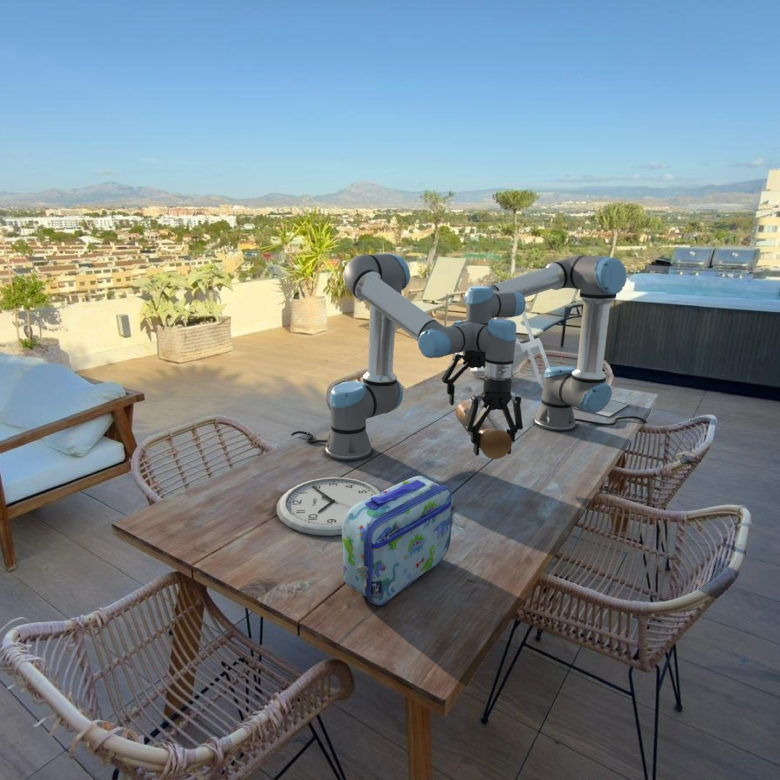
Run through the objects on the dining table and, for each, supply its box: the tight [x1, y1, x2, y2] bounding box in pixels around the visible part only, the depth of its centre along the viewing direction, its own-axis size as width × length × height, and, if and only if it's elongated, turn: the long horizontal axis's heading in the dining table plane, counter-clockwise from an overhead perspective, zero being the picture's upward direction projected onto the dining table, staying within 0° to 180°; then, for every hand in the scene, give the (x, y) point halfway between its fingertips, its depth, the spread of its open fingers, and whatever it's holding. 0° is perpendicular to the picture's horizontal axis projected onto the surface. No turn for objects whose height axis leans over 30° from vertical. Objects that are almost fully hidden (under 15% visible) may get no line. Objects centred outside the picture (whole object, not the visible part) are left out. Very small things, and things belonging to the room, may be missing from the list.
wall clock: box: [276, 476, 382, 537], centre depth 142 cm, size 30×2×30 cm
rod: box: [455, 398, 513, 460], centre depth 158 cm, size 27×9×9 cm, turn 8°
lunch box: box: [341, 475, 453, 606], centre depth 111 cm, size 26×11×21 cm, turn 134°
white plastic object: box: [469, 310, 551, 390], centre depth 259 cm, size 37×45×31 cm
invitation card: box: [573, 400, 629, 418], centre depth 226 cm, size 21×1×15 cm
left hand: (491, 452), depth 149 cm, fingers closed on rod, 9 cm apart
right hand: (472, 403), depth 167 cm, fingers open, 13 cm apart
